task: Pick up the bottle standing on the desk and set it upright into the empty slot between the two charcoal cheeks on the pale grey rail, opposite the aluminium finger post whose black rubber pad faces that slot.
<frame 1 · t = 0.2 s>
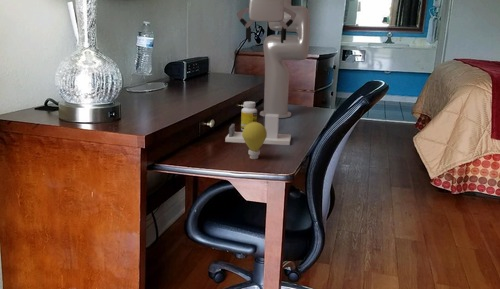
hand: (265, 42, 137), 31 cm above the table, tool pointing down, fingers open, 9 cm apart
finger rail: (258, 139, 149), on the table
supplement bottle: (248, 130, 162), on the table
light bulb: (254, 158, 129), on the table
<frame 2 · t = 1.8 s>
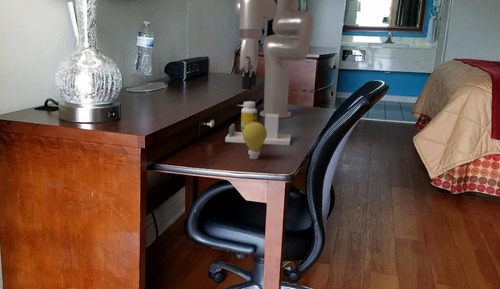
hand: (249, 87, 157), 15 cm above the table, tool pointing down, fingers open, 9 cm apart
nothing on the table moved.
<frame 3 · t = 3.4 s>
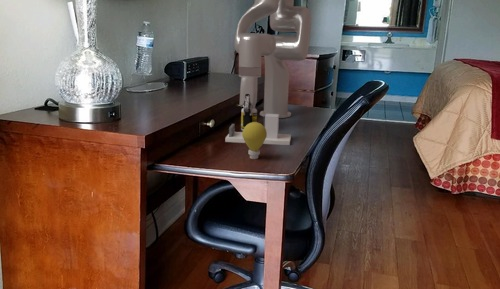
hand: (248, 124, 161), 2 cm above the table, tool pointing down, fingers closed on supplement bottle, 5 cm apart
supplement bottle: (248, 130, 162), on the table, touching gripper
everything else where it was.
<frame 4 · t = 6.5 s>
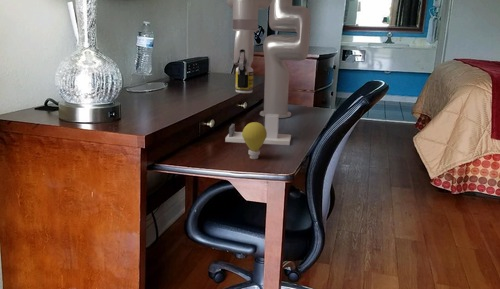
hand: (244, 85, 145), 17 cm above the table, tool pointing down, fingers closed on supplement bottle, 5 cm apart
supplement bottle: (244, 92, 145), point 15 cm above the table, touching gripper
everything else where it was.
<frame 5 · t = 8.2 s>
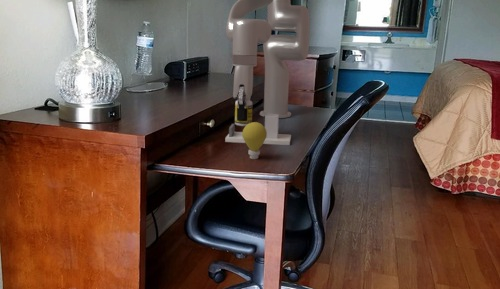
hand: (243, 118, 147), 7 cm above the table, tool pointing down, fingers closed on supplement bottle, 5 cm apart
supplement bottle: (243, 125, 148), point 5 cm above the table, touching gripper
everything else where it was.
when the fingers open (4 cm above the table, at t = 9.6 s): supplement bottle drops 1 cm, resting on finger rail.
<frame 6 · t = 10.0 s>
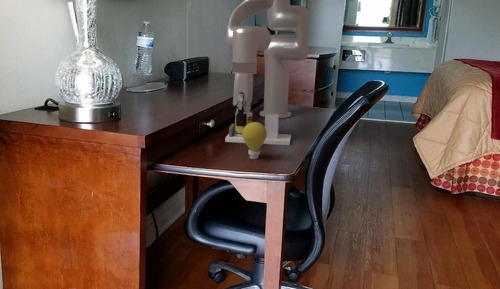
hand: (243, 122, 148), 5 cm above the table, tool pointing down, fingers open, 9 cm apart
supplement bottle: (243, 135, 149), point 1 cm above the table, touching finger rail
everything else where it was.
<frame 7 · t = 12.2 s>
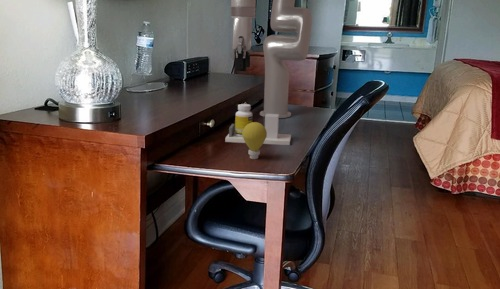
hand: (243, 69, 148), 22 cm above the table, tool pointing down, fingers open, 9 cm apart
nothing on the table moved.
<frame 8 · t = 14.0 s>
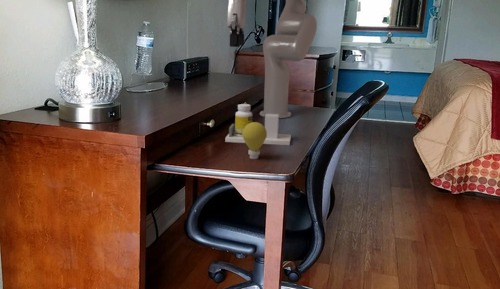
hand: (237, 45, 158), 28 cm above the table, tool pointing down, fingers open, 9 cm apart
nothing on the table moved.
at the end: supplement bottle 0.3 cm from the target spot on the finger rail, point 1.0 cm above the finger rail's base; supplement bottle tilted 0°; the gripper is holding nothing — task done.
